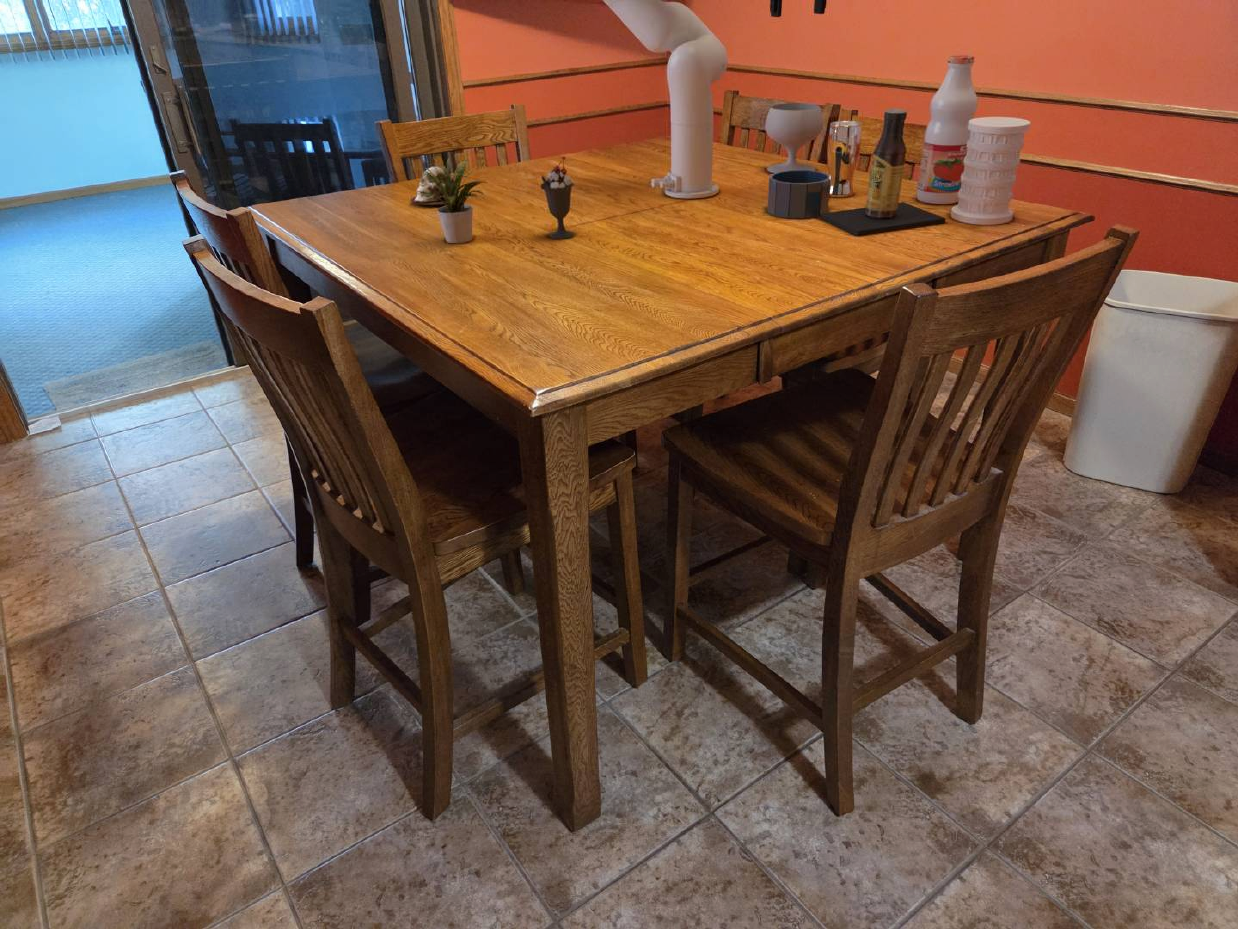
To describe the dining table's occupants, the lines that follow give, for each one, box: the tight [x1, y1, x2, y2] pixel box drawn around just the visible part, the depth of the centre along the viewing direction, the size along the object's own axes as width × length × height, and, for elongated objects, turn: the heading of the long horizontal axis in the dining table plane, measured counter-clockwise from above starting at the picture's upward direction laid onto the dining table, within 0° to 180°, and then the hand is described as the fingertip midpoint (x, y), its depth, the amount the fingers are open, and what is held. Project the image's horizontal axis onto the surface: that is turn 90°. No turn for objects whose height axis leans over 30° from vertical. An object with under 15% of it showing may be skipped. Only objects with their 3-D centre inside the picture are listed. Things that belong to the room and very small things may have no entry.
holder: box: [766, 170, 831, 220], centre depth 172 cm, size 13×13×7 cm
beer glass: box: [826, 120, 862, 198], centre depth 180 cm, size 7×7×15 cm
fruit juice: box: [915, 54, 979, 205], centre depth 169 cm, size 9×9×28 cm
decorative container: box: [950, 116, 1031, 226], centre depth 160 cm, size 12×12×18 cm
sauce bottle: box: [865, 108, 908, 218], centre depth 159 cm, size 7×6×20 cm
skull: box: [410, 166, 459, 206], centre depth 193 cm, size 12×10×10 cm
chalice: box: [764, 102, 824, 174], centre depth 202 cm, size 14×14×15 cm
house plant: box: [415, 156, 485, 244], centre depth 161 cm, size 14×14×16 cm
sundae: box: [540, 156, 575, 240], centre depth 162 cm, size 7×7×15 cm
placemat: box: [819, 201, 946, 237], centre depth 165 cm, size 20×14×1 cm
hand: (797, 15), depth 163 cm, fingers open, 9 cm apart
